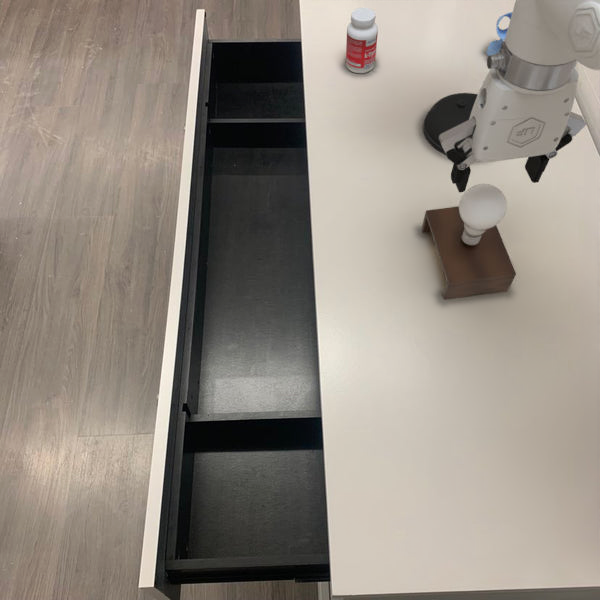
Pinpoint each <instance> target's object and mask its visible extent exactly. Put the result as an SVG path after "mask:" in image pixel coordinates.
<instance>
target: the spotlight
mask: <svg viewBox="0 0 600 600" xmlns="http://www.w3.org/2000/svg"><path fill="white" fill-rule="evenodd" d="M512 12H513V11H511V12H507V13H504V14H503V15H501V16H499V17H498V19H497V20H496V27H495V28H496V29H495V30H496V34H497V37H498V38H499V39H496V40H493V41H490V42H489V44H488V47H487V50H486V55H487V57H488V56H489V55H495V54H496V53H498V52H499V51H500V48H501V45H502V42H504V40H505V37H506V33H507V30H508V27H506V28H504V29H502V28H500V27H499V24H500V22H501V21H502V19H504V17H507V18H509V20H510V19H511V16H512Z"/></svg>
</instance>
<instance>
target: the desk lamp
mask: <svg viewBox="0 0 600 600" xmlns="http://www.w3.org/2000/svg"><path fill="white" fill-rule="evenodd" d="M477 95H478V93H471V92H459V93H453V94H448V95H447V96H444V97H442V98H441V99H439V100H438V101H436V103H434V104H433V105H432V106H431V108H430V110H429V111H428V112H427V113H426V115H425V117H424V121H423V128H422V129H423V134H424V136H425V139H426V141H427V142H428V144H429V145H430V146H432V148H434V149H435V150H437V152H439V153H441V154H443V155H446V153H445V151H444V149H443V147H442V145H441V142H440V140H439V135H440V134H442V133H444V132H446V131H448V130H450V129H452V128H454V127H456V126H457V125H459V124H461V123H463V122H465V121H467V120H469V118H470V114H471V111H472V108H473V106H474V103H475V100H476V98H477ZM465 139H467V138H464V139H462V140H460V141H458V142H456V143H455V144H454V145H455V146H458V145H460V144H461V143H462V142H463V141H464V140H465ZM471 151H472V148H470V149H469V150H468V151H466V152H465V154H466V155H468V154H469V153H470V152H471Z"/></svg>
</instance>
